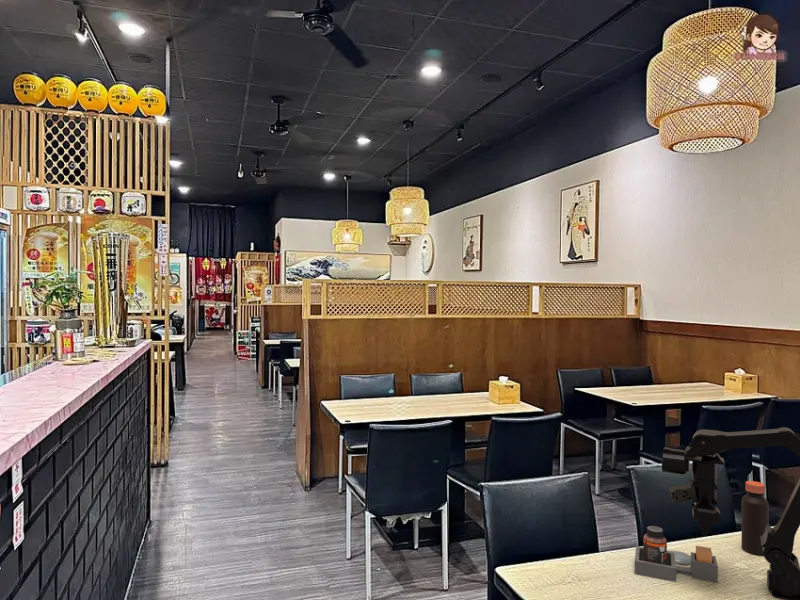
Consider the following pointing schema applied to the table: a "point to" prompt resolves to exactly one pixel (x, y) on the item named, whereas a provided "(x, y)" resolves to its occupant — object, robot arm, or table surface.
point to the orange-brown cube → (703, 554)
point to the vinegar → (754, 517)
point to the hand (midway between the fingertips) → (704, 535)
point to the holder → (676, 568)
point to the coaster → (681, 558)
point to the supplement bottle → (655, 546)
